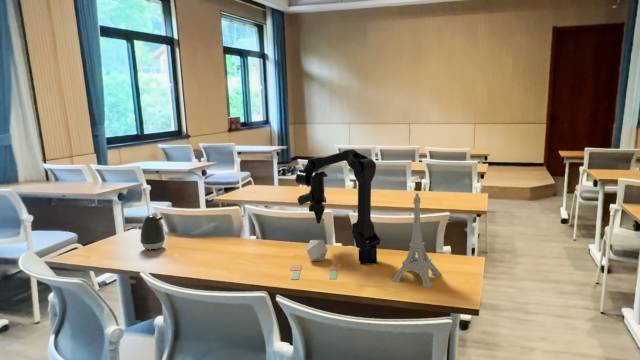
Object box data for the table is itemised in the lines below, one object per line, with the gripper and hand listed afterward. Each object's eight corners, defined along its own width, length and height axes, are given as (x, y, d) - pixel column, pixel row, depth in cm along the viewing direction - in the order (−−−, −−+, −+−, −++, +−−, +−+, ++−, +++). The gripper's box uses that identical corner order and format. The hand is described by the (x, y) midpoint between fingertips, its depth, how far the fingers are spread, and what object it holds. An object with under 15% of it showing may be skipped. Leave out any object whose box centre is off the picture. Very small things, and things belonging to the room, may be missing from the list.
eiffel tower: (405, 268, 162) (404, 188, 157) (441, 274, 155) (442, 190, 150) (391, 281, 151) (391, 195, 146) (430, 288, 144) (430, 198, 139)
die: (320, 266, 168) (332, 244, 170) (301, 255, 169) (313, 233, 170) (320, 266, 176) (332, 245, 178) (301, 256, 177) (313, 235, 178)
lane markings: (341, 264, 167) (341, 264, 167) (340, 279, 154) (340, 278, 154) (291, 265, 169) (291, 264, 168) (286, 279, 155) (286, 279, 155)
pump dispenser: (161, 251, 190) (158, 217, 188) (137, 252, 190) (133, 218, 188) (169, 244, 200) (166, 212, 198) (147, 245, 200) (143, 212, 198)
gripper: (300, 183, 193) (301, 218, 195) (295, 191, 175) (297, 229, 177) (325, 183, 192) (326, 217, 195) (323, 191, 174) (324, 229, 176)
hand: (318, 223), depth 186 cm, fingers closed
